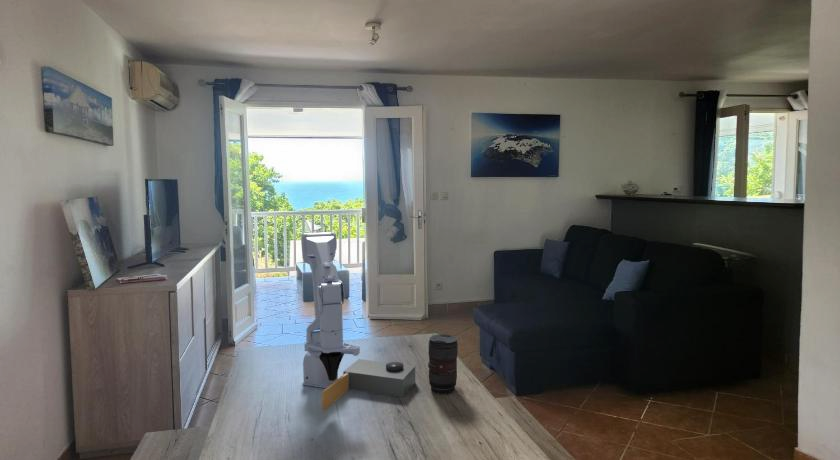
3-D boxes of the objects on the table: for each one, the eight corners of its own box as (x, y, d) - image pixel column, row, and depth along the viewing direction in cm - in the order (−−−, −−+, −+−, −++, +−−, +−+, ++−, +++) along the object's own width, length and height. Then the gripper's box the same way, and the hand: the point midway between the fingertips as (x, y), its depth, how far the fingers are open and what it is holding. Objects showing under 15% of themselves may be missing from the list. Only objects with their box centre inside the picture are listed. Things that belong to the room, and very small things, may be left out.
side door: (345, 389, 147) (344, 372, 147) (349, 389, 147) (349, 372, 146) (320, 409, 135) (319, 391, 134) (325, 410, 134) (324, 392, 134)
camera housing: (343, 388, 148) (343, 367, 147) (359, 375, 157) (358, 355, 156) (403, 397, 142) (402, 375, 141) (415, 382, 151) (415, 362, 151)
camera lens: (455, 397, 142) (455, 343, 140) (426, 394, 143) (426, 342, 142) (459, 385, 150) (459, 334, 148) (431, 382, 151) (431, 332, 149)
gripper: (298, 331, 132) (300, 382, 133) (352, 335, 128) (353, 388, 130) (310, 323, 138) (312, 371, 140) (362, 327, 135) (363, 377, 137)
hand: (332, 379), depth 135 cm, fingers closed
